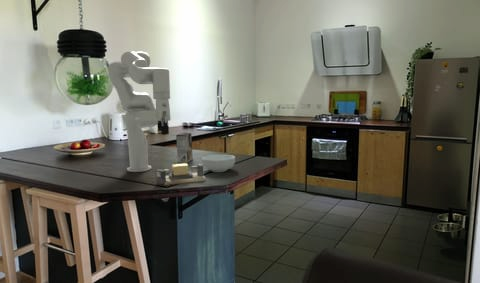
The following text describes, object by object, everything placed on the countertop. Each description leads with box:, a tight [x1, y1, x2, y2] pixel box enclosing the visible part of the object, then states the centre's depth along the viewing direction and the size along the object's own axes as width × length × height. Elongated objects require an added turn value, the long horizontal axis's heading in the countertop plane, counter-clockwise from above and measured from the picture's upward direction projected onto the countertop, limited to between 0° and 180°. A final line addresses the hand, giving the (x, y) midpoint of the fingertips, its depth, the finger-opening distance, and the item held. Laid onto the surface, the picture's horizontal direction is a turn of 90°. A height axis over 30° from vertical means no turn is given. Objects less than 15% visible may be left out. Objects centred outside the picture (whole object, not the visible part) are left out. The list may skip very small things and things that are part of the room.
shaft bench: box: [155, 163, 207, 186], centre depth 170 cm, size 12×22×6 cm, turn 111°
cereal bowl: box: [201, 154, 236, 173], centre depth 187 cm, size 17×17×7 cm
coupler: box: [170, 163, 190, 177], centre depth 170 cm, size 4×8×6 cm, turn 110°
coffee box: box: [175, 132, 194, 164], centre depth 211 cm, size 9×6×16 cm
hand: (163, 132), depth 168 cm, fingers open, 9 cm apart
